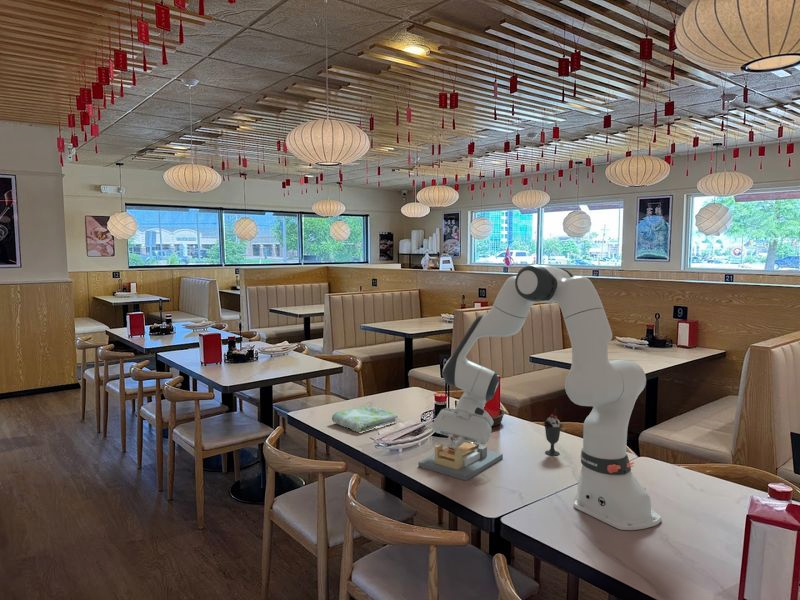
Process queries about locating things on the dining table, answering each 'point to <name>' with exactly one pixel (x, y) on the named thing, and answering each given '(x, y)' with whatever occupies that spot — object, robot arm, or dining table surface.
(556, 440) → the sundae
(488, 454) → the clip base
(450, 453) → the wooden plank
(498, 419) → the dish
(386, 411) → the towel
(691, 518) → the dining table surface
